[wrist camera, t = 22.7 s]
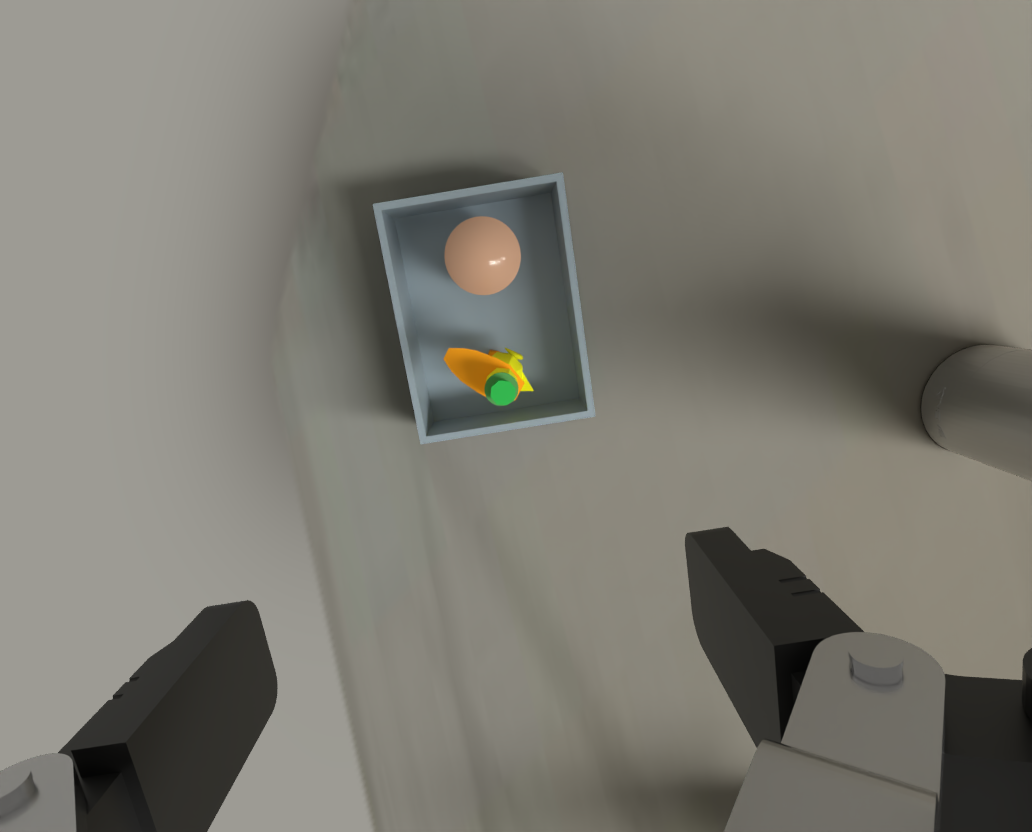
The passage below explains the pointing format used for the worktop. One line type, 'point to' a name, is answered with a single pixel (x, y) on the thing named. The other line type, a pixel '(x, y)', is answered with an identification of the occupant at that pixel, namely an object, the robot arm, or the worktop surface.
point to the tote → (488, 308)
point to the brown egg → (482, 255)
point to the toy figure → (489, 373)
